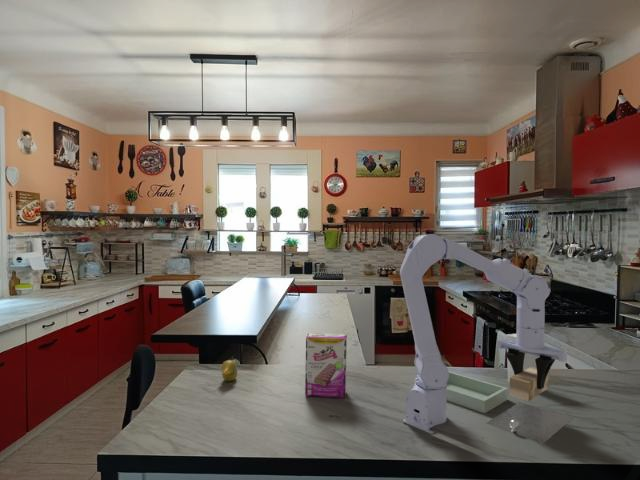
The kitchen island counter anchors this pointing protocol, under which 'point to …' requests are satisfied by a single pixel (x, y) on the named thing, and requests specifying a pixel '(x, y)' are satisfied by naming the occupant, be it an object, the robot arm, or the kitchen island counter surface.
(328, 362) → the candy bar box
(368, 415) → the kitchen island counter surface
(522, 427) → the mount
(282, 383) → the kitchen island counter surface
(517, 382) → the tan long block
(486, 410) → the bin
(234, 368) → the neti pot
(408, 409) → the robot arm
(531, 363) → the skincare box
